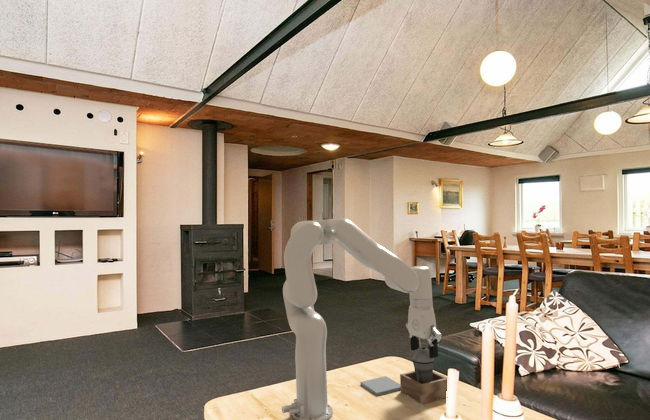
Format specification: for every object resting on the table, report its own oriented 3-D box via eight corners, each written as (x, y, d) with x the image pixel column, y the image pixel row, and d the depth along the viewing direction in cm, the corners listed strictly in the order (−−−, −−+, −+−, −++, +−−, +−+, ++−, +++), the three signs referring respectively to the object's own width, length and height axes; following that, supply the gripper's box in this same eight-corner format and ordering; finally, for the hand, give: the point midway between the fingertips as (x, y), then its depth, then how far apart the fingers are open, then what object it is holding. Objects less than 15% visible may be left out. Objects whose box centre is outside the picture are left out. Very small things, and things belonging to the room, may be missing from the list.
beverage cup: (436, 399, 134) (433, 338, 135) (413, 398, 135) (411, 337, 136) (435, 390, 141) (432, 332, 142) (413, 389, 143) (411, 331, 143)
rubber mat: (377, 395, 138) (377, 392, 138) (360, 384, 148) (360, 382, 148) (403, 389, 143) (403, 386, 143) (385, 378, 153) (385, 376, 153)
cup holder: (422, 404, 131) (421, 385, 131) (400, 391, 141) (400, 374, 141) (449, 396, 136) (448, 378, 136) (426, 385, 146) (426, 368, 146)
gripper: (397, 300, 145) (399, 348, 145) (429, 308, 130) (432, 363, 129) (414, 297, 149) (416, 345, 148) (447, 305, 133) (450, 358, 133)
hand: (424, 353), depth 139 cm, fingers open, 9 cm apart
